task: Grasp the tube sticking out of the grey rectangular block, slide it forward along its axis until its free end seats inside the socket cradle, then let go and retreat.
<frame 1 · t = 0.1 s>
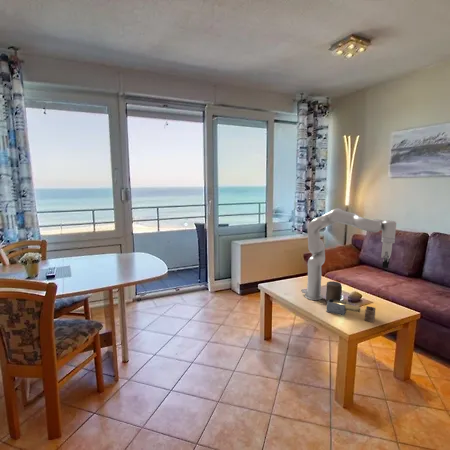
hand: (385, 265, 194), 31 cm above the table, fingers open, 9 cm apart
grey rectangular block: (336, 311, 198), on the table
socket: (369, 319, 188), on the table
pillar candle: (332, 302, 214), on the table
tube: (346, 306, 194), point 5 cm above the table, slide at 0.0 cm
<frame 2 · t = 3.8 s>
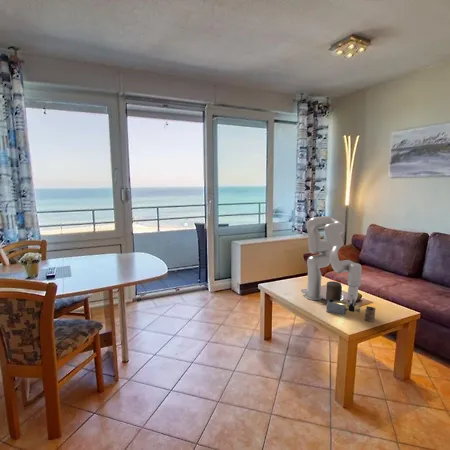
hand: (351, 309, 193), 4 cm above the table, fingers closed on tube, 3 cm apart
tube: (346, 306, 194), point 5 cm above the table, slide at 0.0 cm, touching gripper
everything else where it was.
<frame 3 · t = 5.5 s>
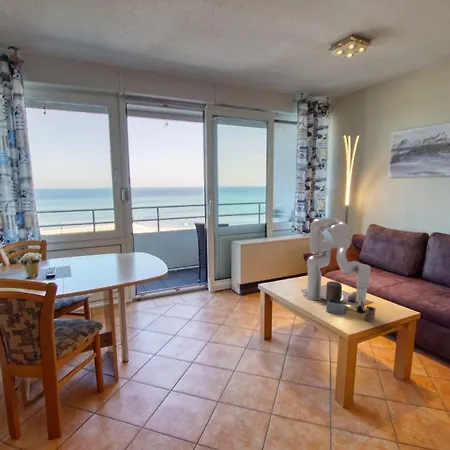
hand: (360, 311, 190), 4 cm above the table, fingers closed on tube, 3 cm apart
tube: (354, 308, 192), point 5 cm above the table, slide at 5.0 cm, touching gripper
everything else where it was.
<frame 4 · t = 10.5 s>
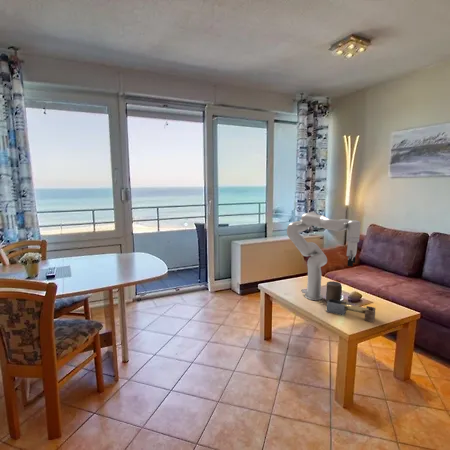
hand: (351, 264, 201), 30 cm above the table, fingers open, 9 cm apart
tube: (354, 308, 192), point 5 cm above the table, slide at 5.0 cm
everything else where it was.
at the end: tube slide at 5.0 cm; the gripper is holding nothing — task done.
